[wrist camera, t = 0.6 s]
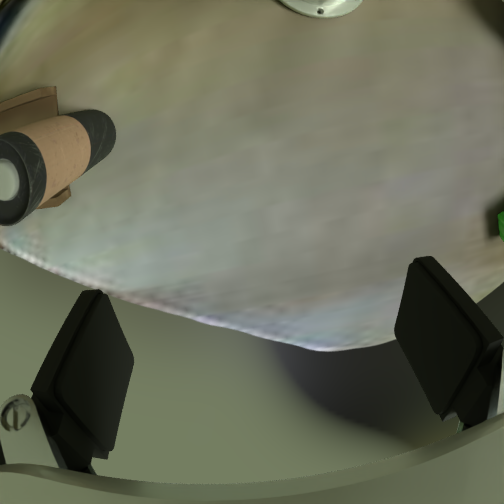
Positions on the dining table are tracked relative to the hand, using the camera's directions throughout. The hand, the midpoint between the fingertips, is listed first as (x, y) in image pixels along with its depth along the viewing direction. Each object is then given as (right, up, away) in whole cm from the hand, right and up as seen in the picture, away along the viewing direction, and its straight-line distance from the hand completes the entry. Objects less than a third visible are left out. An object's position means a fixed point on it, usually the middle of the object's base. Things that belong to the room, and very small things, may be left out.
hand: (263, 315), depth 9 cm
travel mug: (-21, +17, +26) cm, 38 cm away
